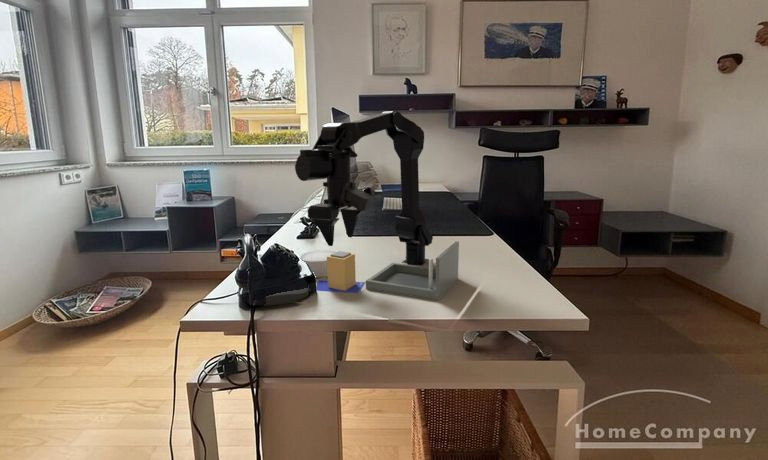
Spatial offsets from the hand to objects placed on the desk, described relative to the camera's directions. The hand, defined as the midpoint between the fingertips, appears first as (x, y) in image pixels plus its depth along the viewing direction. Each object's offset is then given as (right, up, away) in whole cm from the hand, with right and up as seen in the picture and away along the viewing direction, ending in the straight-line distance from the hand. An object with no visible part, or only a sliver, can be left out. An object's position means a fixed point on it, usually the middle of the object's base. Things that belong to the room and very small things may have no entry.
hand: (340, 241), depth 104 cm
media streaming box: (-16, -13, +1) cm, 20 cm away
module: (0, -11, +3) cm, 12 cm away
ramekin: (-7, -10, +15) cm, 19 cm away
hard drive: (-1, -13, +3) cm, 13 cm away
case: (+18, -11, +5) cm, 22 cm away
